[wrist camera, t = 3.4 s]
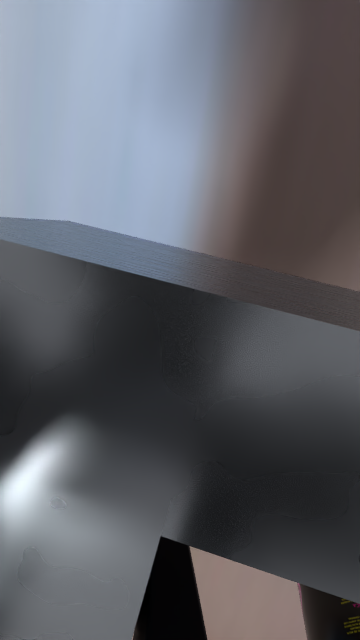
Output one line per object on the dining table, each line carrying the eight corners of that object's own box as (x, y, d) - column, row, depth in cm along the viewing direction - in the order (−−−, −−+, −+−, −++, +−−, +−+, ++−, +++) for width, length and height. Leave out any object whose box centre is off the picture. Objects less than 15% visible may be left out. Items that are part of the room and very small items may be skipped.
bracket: (310, 587, 9) (365, 837, 5) (42, 496, 10) (-73, 656, 6) (460, 316, 6) (794, 441, 3) (68, 220, 7) (-113, 210, 3)
